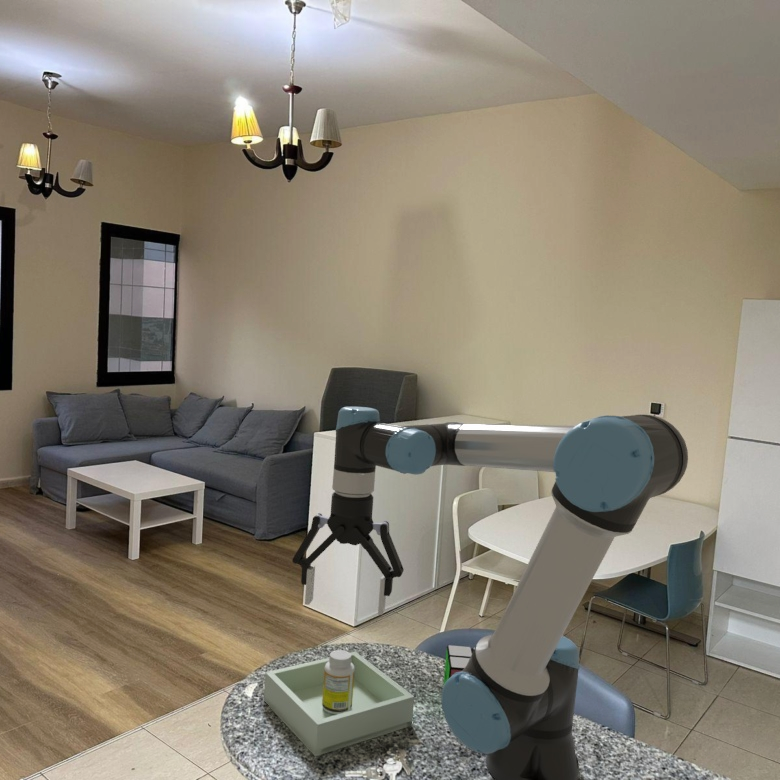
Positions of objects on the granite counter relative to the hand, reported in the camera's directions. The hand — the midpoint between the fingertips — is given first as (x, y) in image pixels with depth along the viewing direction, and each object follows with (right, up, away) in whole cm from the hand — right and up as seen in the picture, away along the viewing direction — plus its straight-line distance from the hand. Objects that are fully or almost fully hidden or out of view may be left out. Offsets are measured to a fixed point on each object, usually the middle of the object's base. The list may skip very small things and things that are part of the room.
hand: (344, 607), depth 129 cm
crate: (-2, -20, +2) cm, 20 cm away
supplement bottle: (-2, -19, +1) cm, 19 cm away
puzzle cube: (+24, -22, +7) cm, 33 cm away
